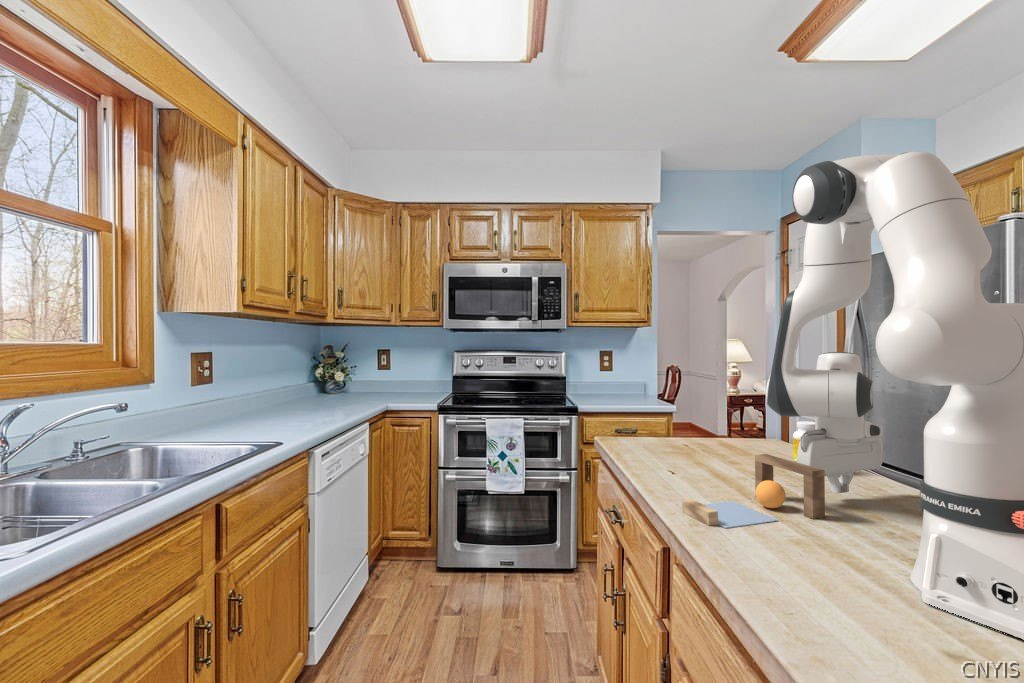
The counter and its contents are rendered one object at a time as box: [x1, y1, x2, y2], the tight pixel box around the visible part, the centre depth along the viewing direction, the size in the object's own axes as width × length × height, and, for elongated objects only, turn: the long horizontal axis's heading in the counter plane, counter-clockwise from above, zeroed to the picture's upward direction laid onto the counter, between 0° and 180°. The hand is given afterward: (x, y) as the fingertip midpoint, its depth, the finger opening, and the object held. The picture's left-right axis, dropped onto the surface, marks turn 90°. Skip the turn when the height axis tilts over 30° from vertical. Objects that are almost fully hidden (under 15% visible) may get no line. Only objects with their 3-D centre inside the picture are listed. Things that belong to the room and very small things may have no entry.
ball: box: [755, 480, 787, 509], centre depth 102 cm, size 6×6×6 cm
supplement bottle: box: [792, 420, 815, 462], centre depth 129 cm, size 7×7×13 cm
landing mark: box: [703, 500, 779, 529], centre depth 98 cm, size 12×12×1 cm
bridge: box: [754, 453, 826, 520], centre depth 102 cm, size 3×14×9 cm, turn 17°
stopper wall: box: [681, 498, 719, 527], centre depth 96 cm, size 8×2×2 cm, turn 17°
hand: (840, 492), depth 107 cm, fingers closed
